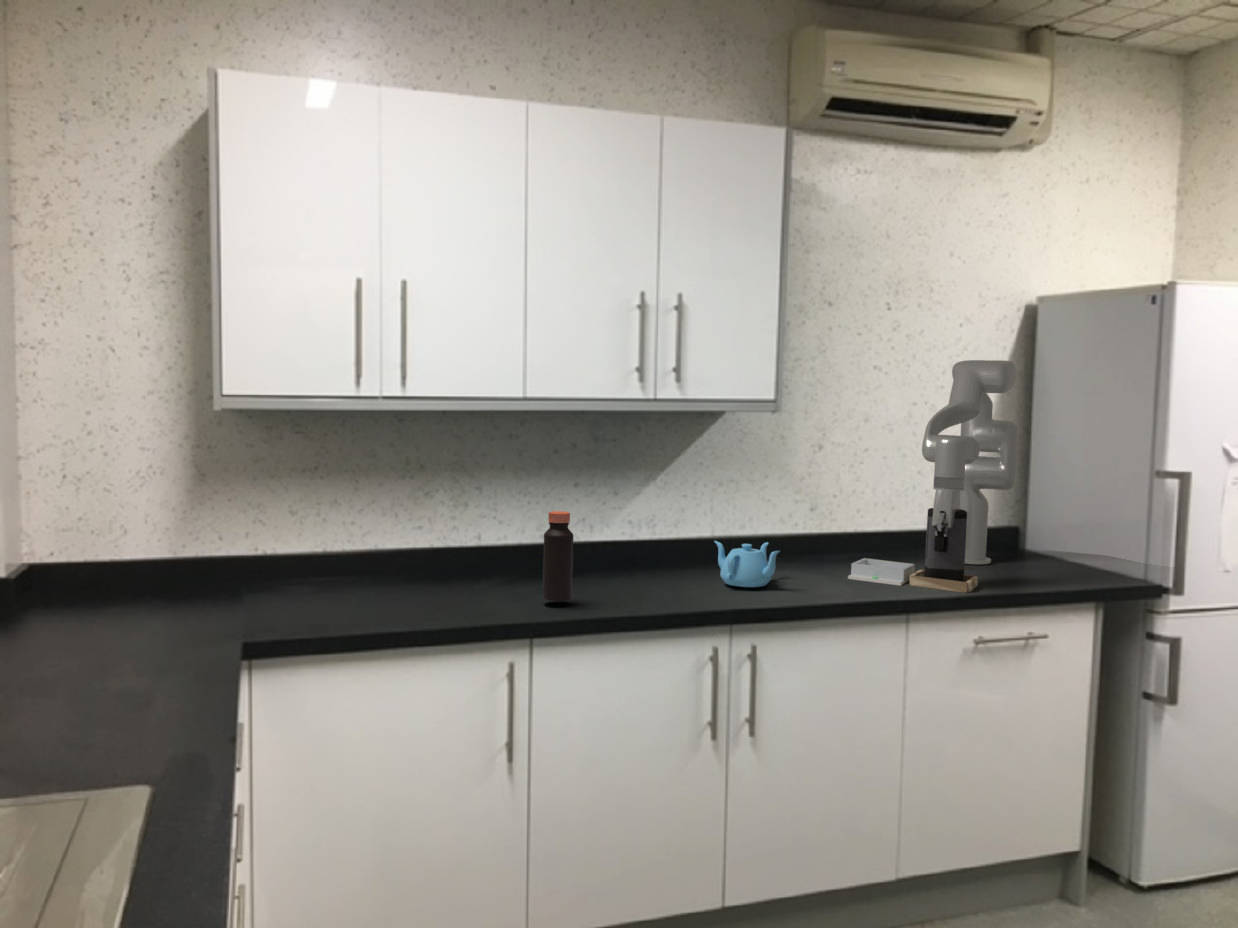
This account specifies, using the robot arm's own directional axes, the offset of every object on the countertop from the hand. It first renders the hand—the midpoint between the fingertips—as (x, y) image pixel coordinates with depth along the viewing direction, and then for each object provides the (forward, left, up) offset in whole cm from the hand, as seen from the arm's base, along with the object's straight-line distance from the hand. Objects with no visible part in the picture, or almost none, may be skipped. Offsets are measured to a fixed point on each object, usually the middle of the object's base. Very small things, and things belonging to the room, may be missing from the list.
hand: (945, 549), depth 241 cm
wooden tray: (0, 0, -9) cm, 9 cm away
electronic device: (0, 0, -10) cm, 10 cm away
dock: (0, -16, -9) cm, 19 cm away
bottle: (+77, -69, -10) cm, 104 cm away
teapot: (+31, -42, -10) cm, 53 cm away
